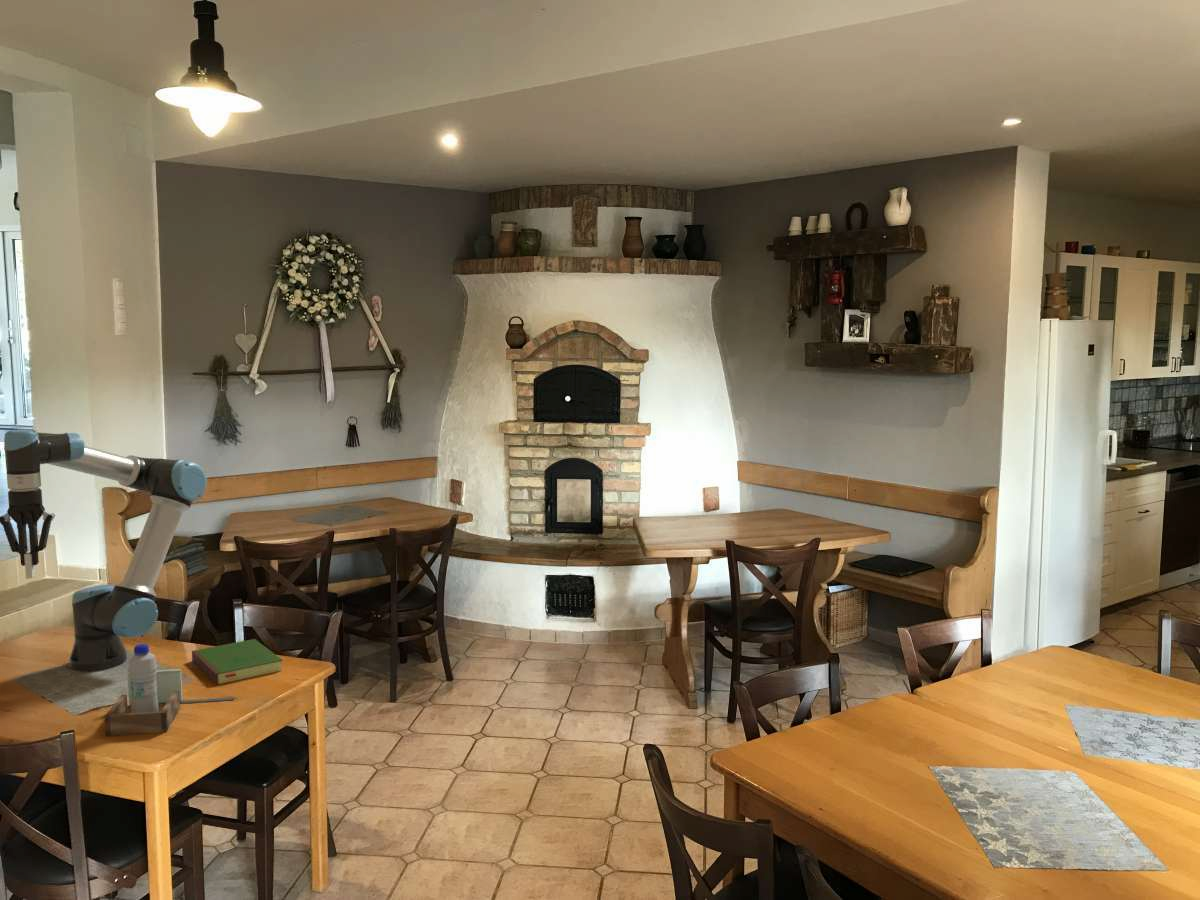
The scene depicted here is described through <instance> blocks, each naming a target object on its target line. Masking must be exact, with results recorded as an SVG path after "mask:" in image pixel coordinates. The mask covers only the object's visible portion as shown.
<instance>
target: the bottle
mask: <svg viewBox="0 0 1200 900" xmlns="http://www.w3.org/2000/svg"><path fill="white" fill-rule="evenodd" d="M133 653H134V654H133V655H132V656H130V657H129V659H128V668H127V673H129V675H128V676H129V677H130V684H131V707H130V711H131V712H130V713H139V712H153V711H160V710H159V708H160V707H159V705H158V699H157V686H156V673H157V670H158V664H157V660H156V655H155V654H154V653H151V652H150V647H149V645H148V644H146V643H140V644H139V643H138V644H137V645H135V646H134V648H133ZM128 676H127V677H128Z"/></svg>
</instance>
